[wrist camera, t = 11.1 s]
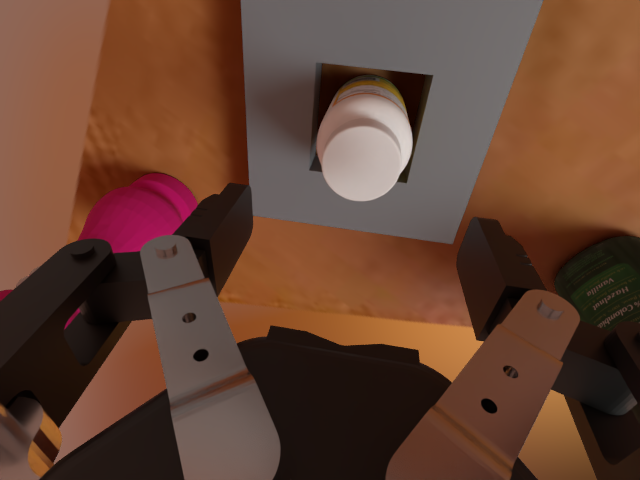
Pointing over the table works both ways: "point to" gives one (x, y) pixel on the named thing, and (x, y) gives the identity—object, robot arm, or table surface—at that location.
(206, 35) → the table surface
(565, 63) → the table surface
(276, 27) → the socket block
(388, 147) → the supplement bottle
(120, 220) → the pepper mill
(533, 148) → the table surface
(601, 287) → the coffee jar
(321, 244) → the table surface
